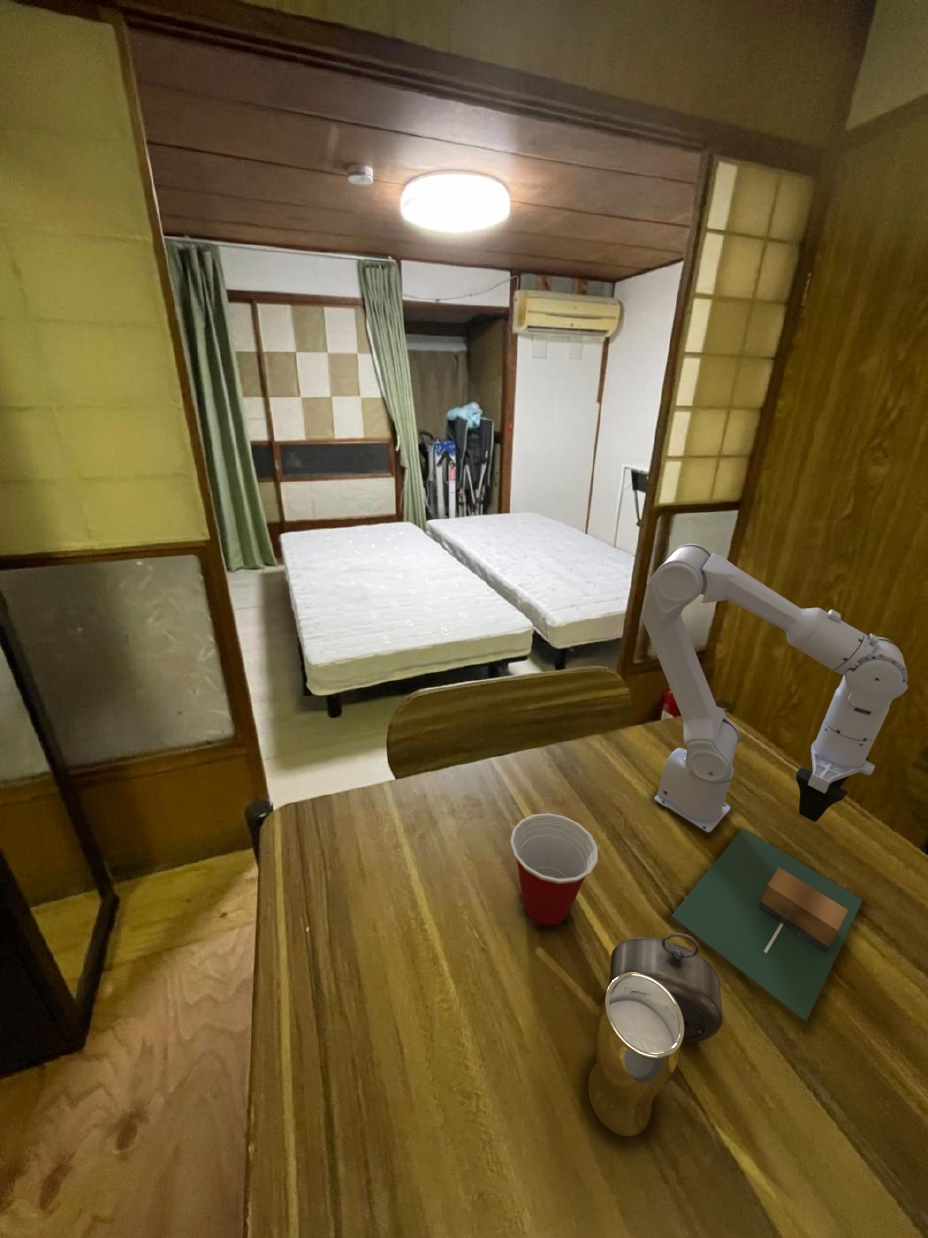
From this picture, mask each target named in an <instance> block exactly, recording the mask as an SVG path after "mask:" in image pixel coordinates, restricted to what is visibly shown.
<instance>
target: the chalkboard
mask: <svg viewBox="0 0 928 1238" xmlns="http://www.w3.org/2000/svg"><path fill="white" fill-rule="evenodd" d="M779 868H781V869H783V870H784V871H786V872H788V873H789V874H791V875H792V876H794V877H796V878H797V879H799V880H800V881H802V882H804V883H805V884H807V885H809V886H810V887H812V888H813V889H815V890H817V891H818V892H820V893H821V894H823V895H825V896H826V897H828V898H830V899H831V900H833V901H834V902H836V903H838V904H839V905H841V906H842V907H844V908H846V909H847V910H848V912H847V914H846V916H845V918H844V920H843V922H842V924H841V926H840V929H839V931H838V932H837V934H836V936H835V938H834V940H833V942H832V944H831V946H830V947H829V949H828V951H827V953H825V952H823V951H822V950H820V949H819V948H817V947H816V946H815V945H813V944H812V943H810V942H809V941H807V940H806V939H804V938H803V937H801V936H800V935H798V934H797V933H796V932H794V931H793V930H791V929H790V928H788V927H787V926H785V925H784V924H782V923H781V922H780V921H778V920H777V919H775V918H774V917H772V916H771V915H769V914H768V913H766V912H765V911H764V910H762V909H761V908H759V905H760V902H761V900H762V897H763V895H764V893H765V890H766V888H767V885H768V884H769V882H770V881H771V879H772V878H773V876H774V875H775V873H776V872H777V870H778V869H779ZM863 901H864V900H863V899H862V898H860V897H858V896H857V895H855V894H853V893H852V892H850V891H849V890H847V889H845V888H843V887H841V886H840V885H838V884H836V883H835V882H833V881H832V880H830V879H828V878H827V877H825V876H823V875H821V874H820V873H818V872H816V870H813V869H812V868H811V867H809V866H807V865H805V864H803V863H802V862H800V861H798V860H797V859H795V858H793V857H792V856H790V855H789V854H786V853H785V852H783V851H782V850H780V849H778V848H777V847H775V846H773V845H771V844H770V843H768V842H767V841H765V840H763V839H762V838H760V837H758V836H757V835H755V834H753V833H752V832H751V831H749V830H747V829H745V828H743V827H742V828H741V830H739V832H738V834H737V835H736V836H735V837H734V838H733V839H732V841H731V842H730V843H729V844H728V845H727V847H726V848H725V849H724V850H723V852H722V853H721V854H720V856H719V857H718V858H717V859H716V860H715V862H714V863H713V864H711V866H710V868H709V869H708V870H707V871H706V873H705V874H704V875H703V877H701V879H700V880H699V882H697V884H696V885H695V886H694V888H693V889H692V890H691V891H690V892H689V894H687V896H686V897H685V898H684V900H683V901H682V902H681V904H680V905H679V906H678V908H676V910H675V911H674V912H673V914H672V915H671V917H672V918H673V919H674V920H675V921H676V922H677V923H679V924H681V925H682V926H683V927H684V928H686V929H687V930H689V931H690V933H692V934H693V935H695V936H696V937H697V938H699V940H701V941H702V942H704V943H705V944H706V945H707V946H709V947H710V948H711V949H712V950H713V951H715V952H716V953H718V954H719V955H720V956H722V957H723V958H724V959H725V960H727V961H728V962H729V963H730V964H731V965H733V966H734V967H736V968H737V969H738V971H741V972H742V973H743V974H744V975H745V976H747V977H748V978H749V979H751V980H752V981H753V982H754V983H756V984H757V985H758V986H760V987H761V988H762V989H764V991H766V992H767V993H769V994H770V995H771V996H773V997H774V998H775V999H777V1000H778V1001H779V1002H780V1003H781V1004H783V1006H785V1007H786V1008H788V1009H789V1010H790V1011H792V1012H793V1013H794V1014H795V1015H797V1016H798V1017H799V1018H800V1019H802V1021H805V1022H807V1021H808V1020H809V1019H808V1018H809V1016H810V1014H811V1012H812V1010H813V1008H814V1006H815V1004H816V1001H817V999H818V997H819V996H820V993H821V991H822V989H823V987H824V984H825V983H826V980H827V978H828V976H829V974H830V972H831V969H832V967H833V965H834V963H835V961H836V959H837V957H838V955H839V953H840V950H841V948H842V947H843V944H844V942H845V940H846V937H847V936H848V933H849V931H850V929H851V927H852V925H853V923H854V921H855V918H856V916H857V914H858V912H859V910H860V908H861V905H862V904H863Z"/></svg>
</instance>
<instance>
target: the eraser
mask: <svg viewBox="0 0 928 1238" xmlns="http://www.w3.org/2000/svg"><path fill="white" fill-rule="evenodd" d="M759 908H761V909H762V910H764V911H765V912H766V913H768V914H769V915H771V916H772V917H774V918H775V919H777V920H778V921H780V922H781V923H782V924H784V925H785V926H787V927H788V928H790V929H791V930H793V931H794V932H796V933H797V934H798V935H800V936H801V937H803V938H804V939H806V940H807V941H809V942H810V943H812V944H813V945H815V946H816V947H817V948H819V949H820V950H822V951H823V952H825V953H827V951H828V949H829V947H830V946H831V944H832V942H833V940H834V938H835V936H836V934H837V932H838V931H839V929H840V926H841V924H842V922H843V920H844V918H845V916H846V914H847V912H848V910H847V909H846V908H844V907H842V906H841V905H839V904H838V903H836V902H834V901H833V900H831V899H830V898H828V897H826V896H825V895H823V894H821V893H820V892H818V891H817V890H815V889H813V888H812V887H810V886H809V885H807V884H805V883H804V882H802V881H800V880H799V879H797V878H796V877H794V876H792V875H791V874H789V873H788V872H786V871H784V870H783V869H781V868H779V869H778V870H777V872H776V873H775V875H774V876H773V878H772V879H771V881H770V882H769V884H768V885H767V888H766V890H765V893H764V895H763V897H762V900H761V902H760V905H759Z"/></svg>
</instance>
